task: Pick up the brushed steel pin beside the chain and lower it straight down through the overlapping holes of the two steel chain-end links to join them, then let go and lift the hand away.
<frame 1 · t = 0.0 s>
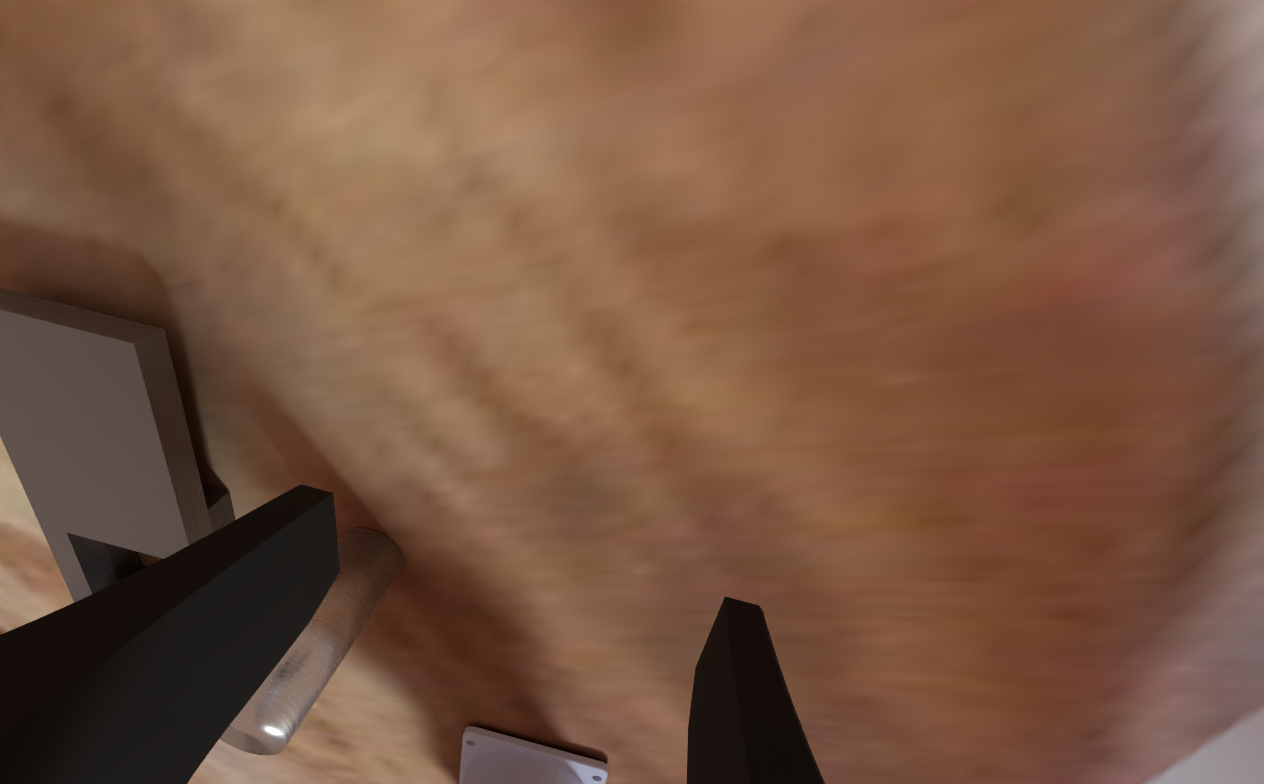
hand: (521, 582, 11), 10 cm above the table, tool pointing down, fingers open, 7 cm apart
steel pin: (371, 553, 26), on the table
end link lower: (174, 544, 28), on the table
end link upper: (174, 544, 28), on the table
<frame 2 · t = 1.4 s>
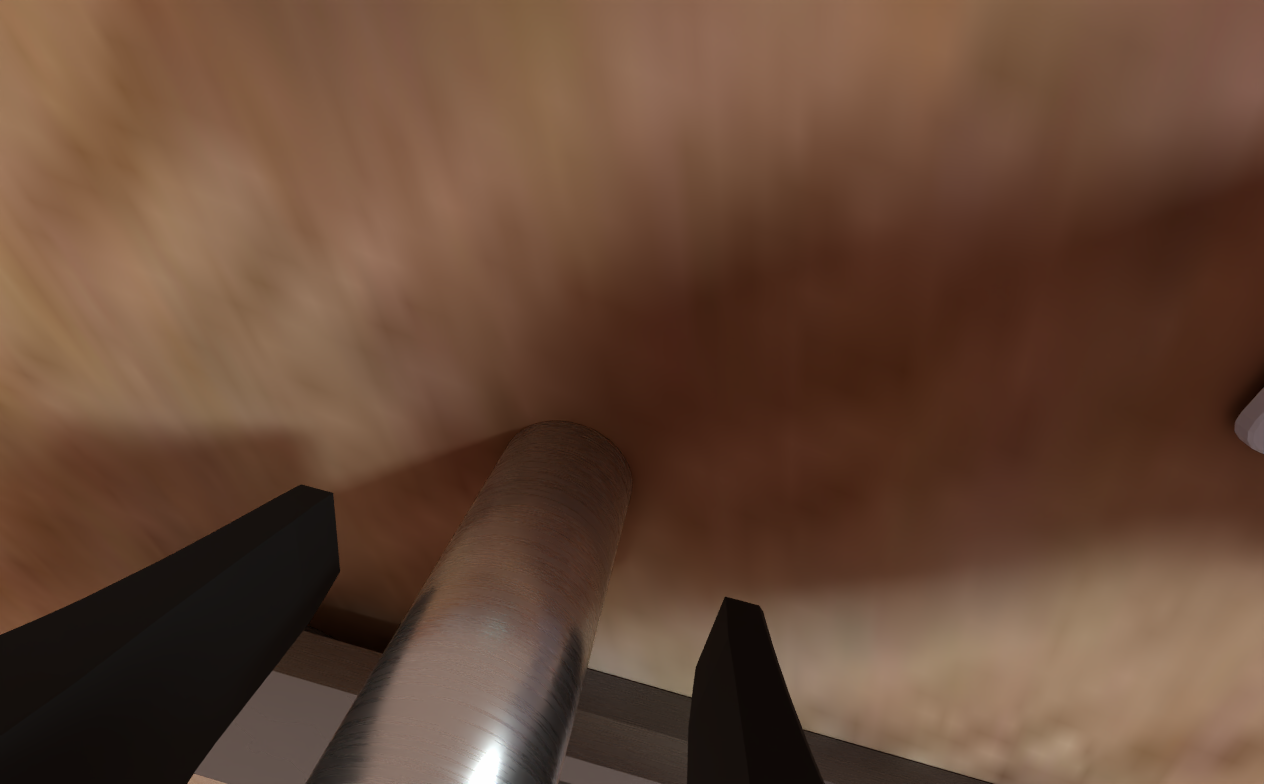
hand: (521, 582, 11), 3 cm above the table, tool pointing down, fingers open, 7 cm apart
steel pin: (566, 477, 13), on the table
end link lower: (610, 747, 18), on the table
end link upper: (610, 747, 18), on the table
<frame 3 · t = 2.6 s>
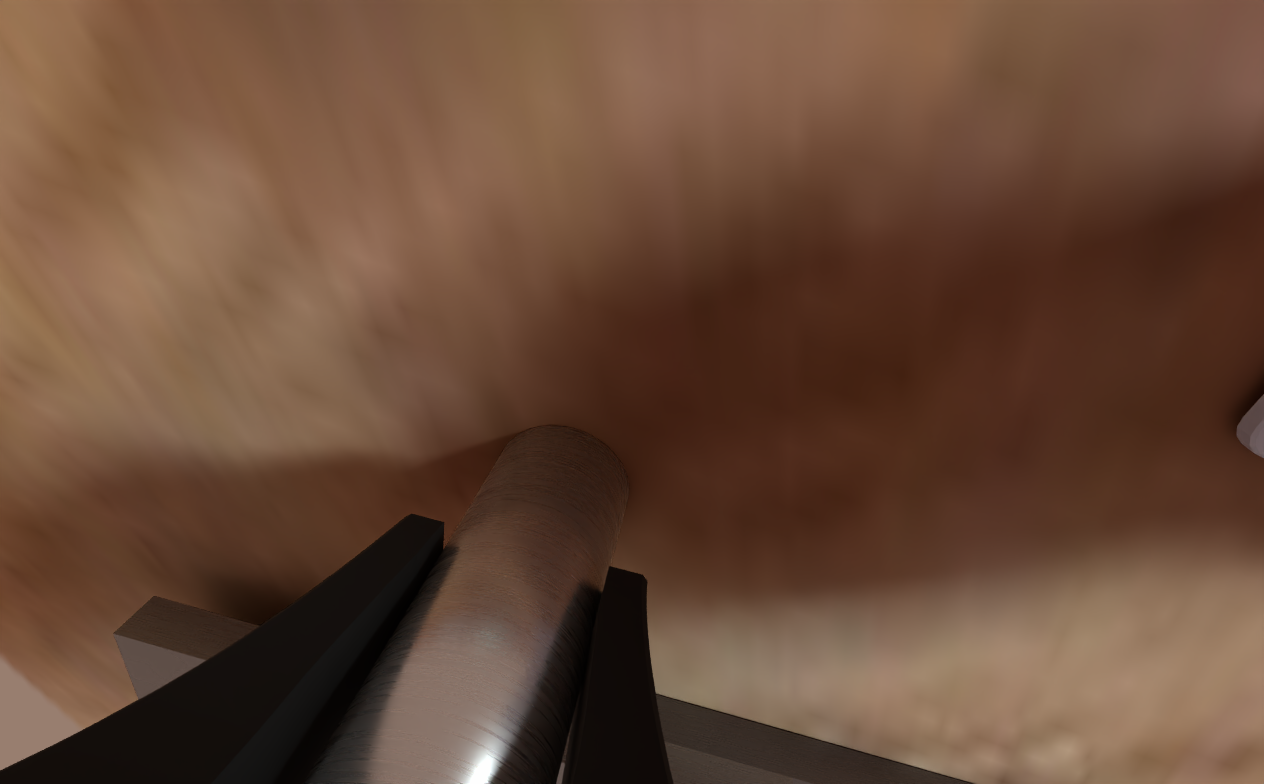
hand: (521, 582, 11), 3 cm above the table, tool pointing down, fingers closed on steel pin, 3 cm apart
steel pin: (562, 482, 13), on the table, touching gripper
end link lower: (608, 753, 18), on the table
end link upper: (608, 753, 18), on the table
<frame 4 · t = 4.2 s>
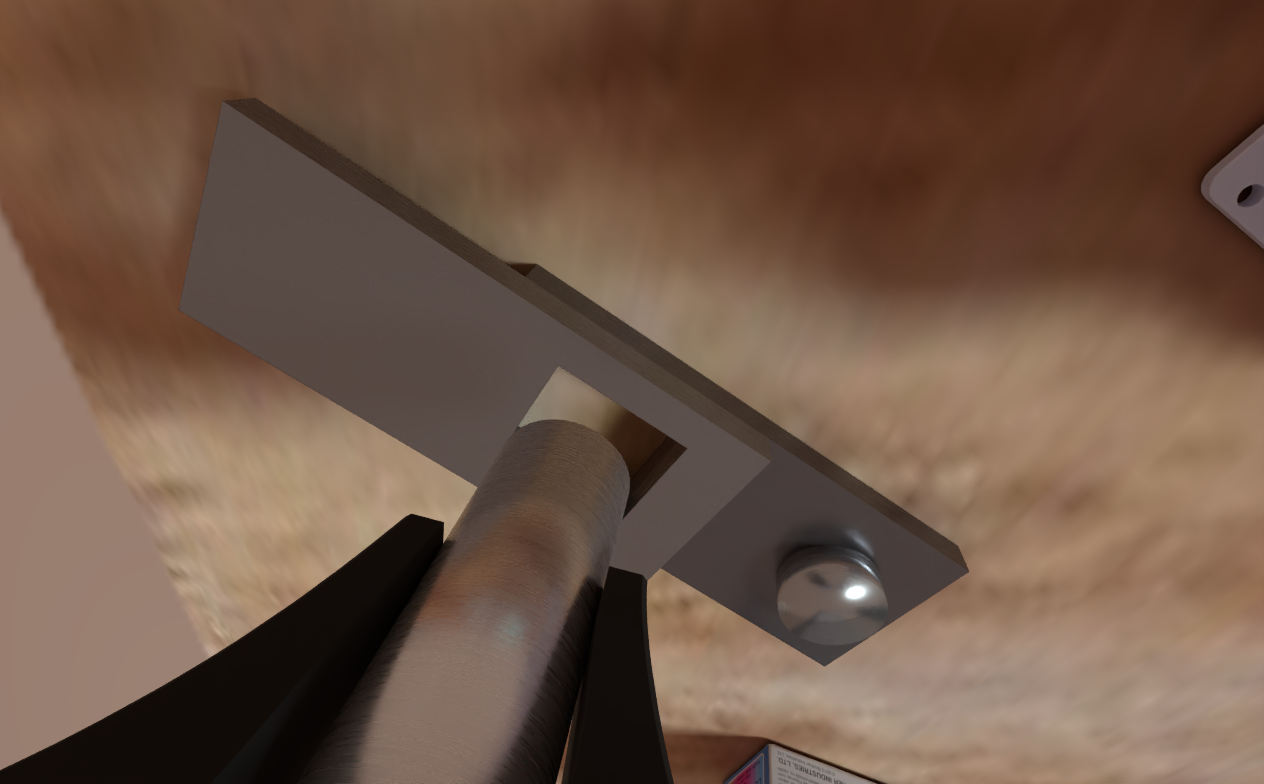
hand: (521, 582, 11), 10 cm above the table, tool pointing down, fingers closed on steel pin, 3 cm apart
steel pin: (563, 476, 13), point 7 cm above the table, touching gripper
end link lower: (601, 416, 21), on the table
end link upper: (601, 416, 21), on the table
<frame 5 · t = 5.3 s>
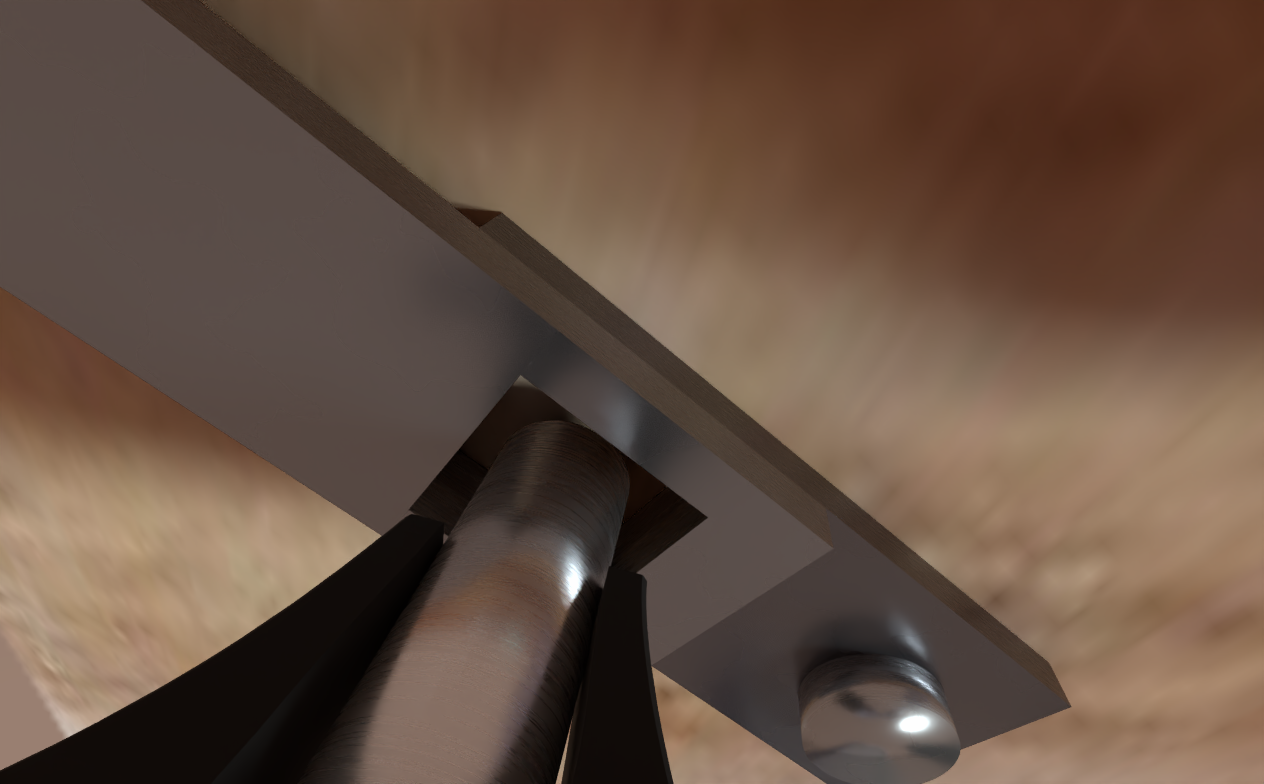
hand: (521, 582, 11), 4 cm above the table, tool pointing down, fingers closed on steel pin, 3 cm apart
steel pin: (563, 477, 13), point 1 cm above the table, touching gripper
end link lower: (578, 447, 14), on the table
end link upper: (578, 447, 14), on the table
when the fingers open (4 cm above the table, at t = 6.1 s): steel pin stays where it is, resting in end link lower.
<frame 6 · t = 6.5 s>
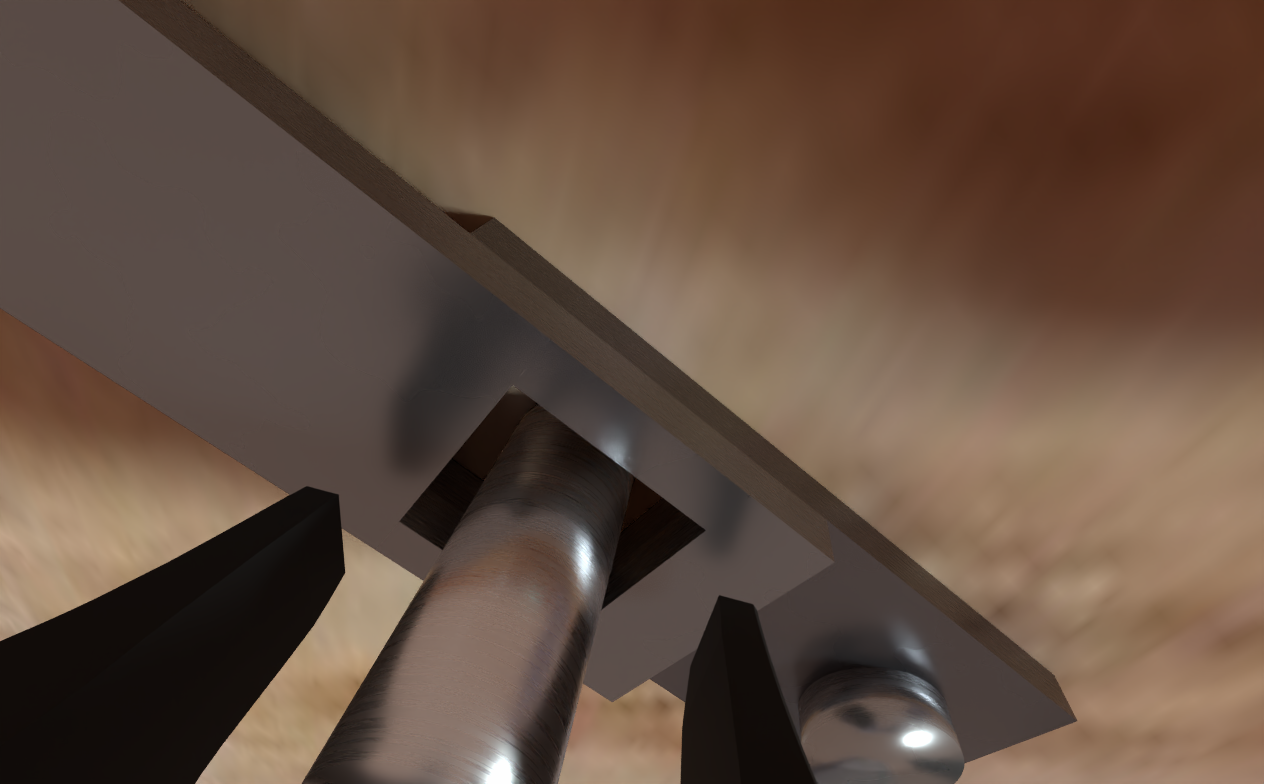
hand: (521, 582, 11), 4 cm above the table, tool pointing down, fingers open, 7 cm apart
steel pin: (574, 453, 14), resting in end link lower
end link lower: (573, 456, 14), on the table
end link upper: (573, 456, 14), on the table
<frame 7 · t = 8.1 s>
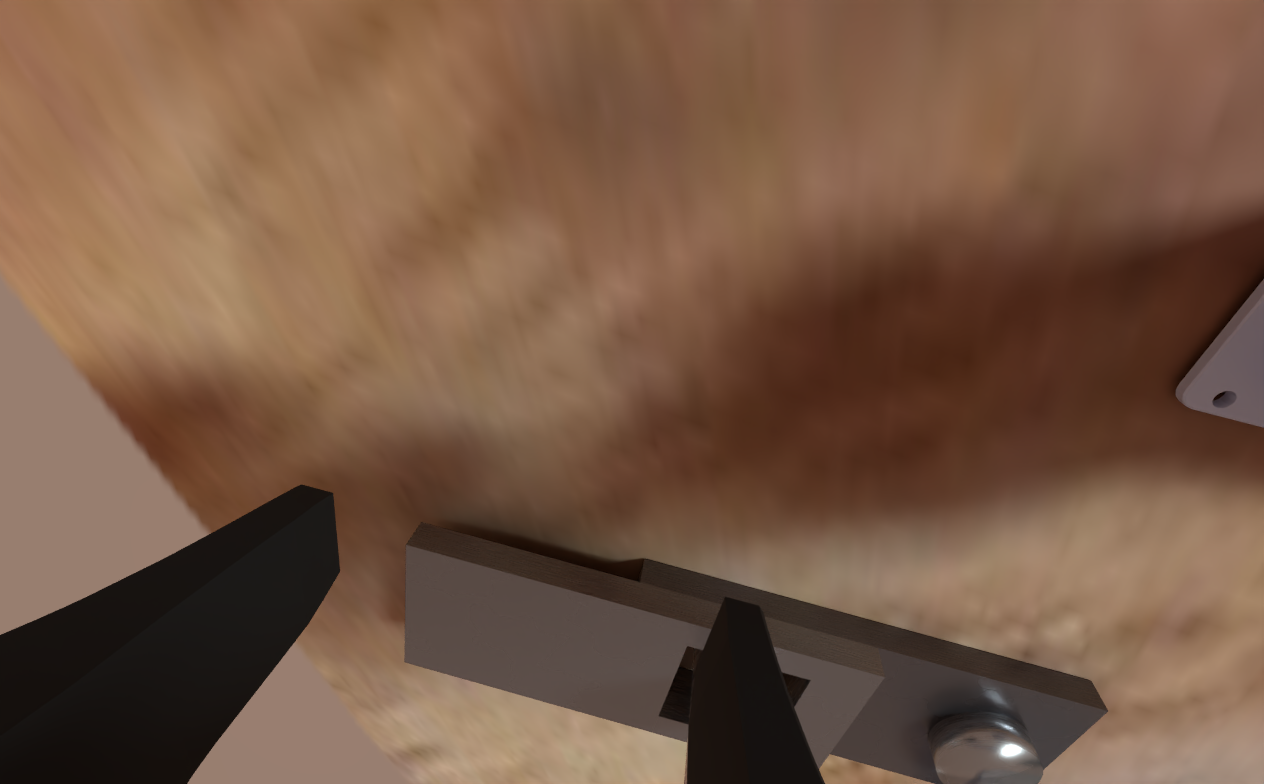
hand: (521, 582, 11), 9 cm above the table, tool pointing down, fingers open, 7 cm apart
end link lower: (731, 645, 25), on the table
end link upper: (731, 645, 25), on the table
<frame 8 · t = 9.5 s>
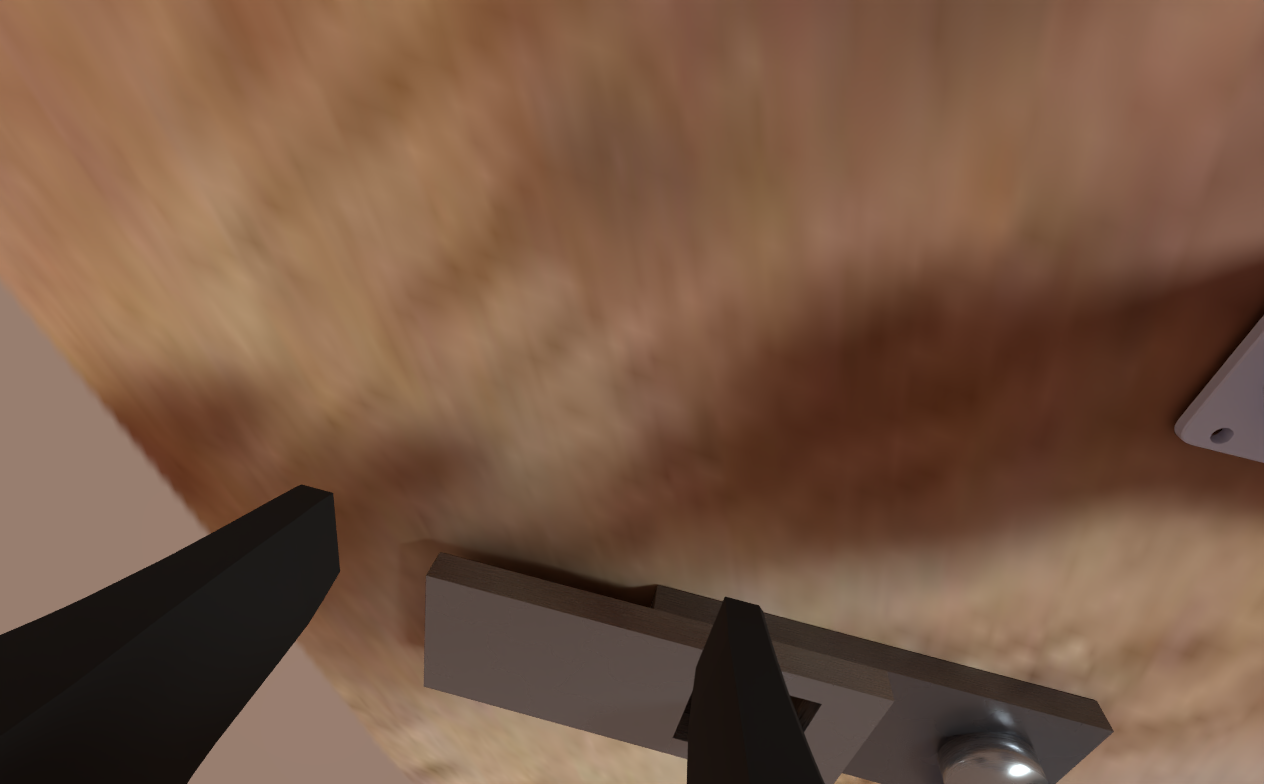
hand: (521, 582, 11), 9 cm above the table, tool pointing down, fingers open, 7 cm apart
end link lower: (742, 667, 25), on the table
end link upper: (742, 667, 25), on the table
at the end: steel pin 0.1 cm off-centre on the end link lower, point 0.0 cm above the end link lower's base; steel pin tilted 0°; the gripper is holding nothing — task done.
